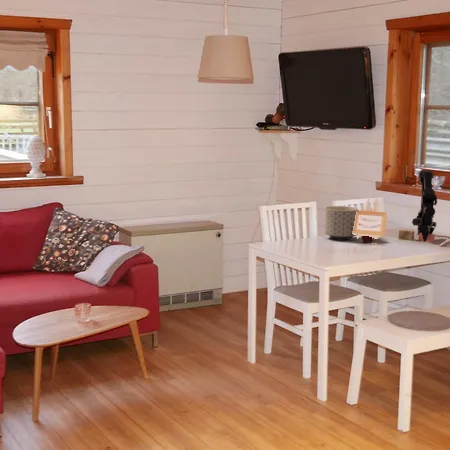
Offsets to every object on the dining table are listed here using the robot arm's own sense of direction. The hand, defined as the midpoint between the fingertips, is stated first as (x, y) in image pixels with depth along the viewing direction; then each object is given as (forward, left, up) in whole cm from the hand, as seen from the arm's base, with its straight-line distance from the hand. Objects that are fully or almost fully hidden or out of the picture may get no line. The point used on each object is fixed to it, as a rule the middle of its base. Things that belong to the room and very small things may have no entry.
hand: (426, 240), depth 437 cm
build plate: (+3, -11, -1) cm, 11 cm away
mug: (+19, -28, -1) cm, 34 cm away
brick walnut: (+3, -11, 0) cm, 11 cm away
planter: (+17, -46, -1) cm, 49 cm away
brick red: (0, 0, -1) cm, 1 cm away
